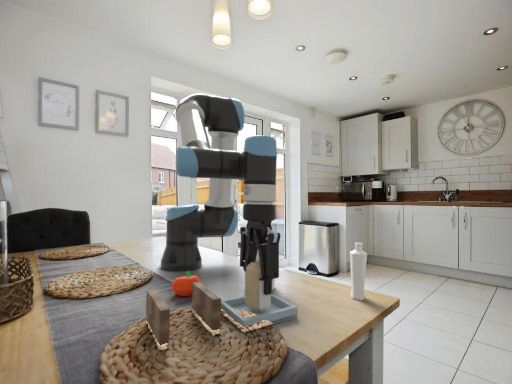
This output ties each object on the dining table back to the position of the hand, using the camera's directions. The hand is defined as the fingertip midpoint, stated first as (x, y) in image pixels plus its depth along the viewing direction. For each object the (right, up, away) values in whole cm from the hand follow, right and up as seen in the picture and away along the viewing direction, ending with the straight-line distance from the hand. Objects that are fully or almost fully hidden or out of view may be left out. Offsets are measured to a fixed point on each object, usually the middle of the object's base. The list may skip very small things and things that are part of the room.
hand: (257, 302), depth 63 cm
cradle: (-15, -2, -8) cm, 17 cm away
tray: (0, -3, 0) cm, 3 cm away
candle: (0, -1, 0) cm, 1 cm away
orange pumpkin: (-19, -3, +11) cm, 22 cm away
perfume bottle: (+28, -4, +12) cm, 31 cm away
